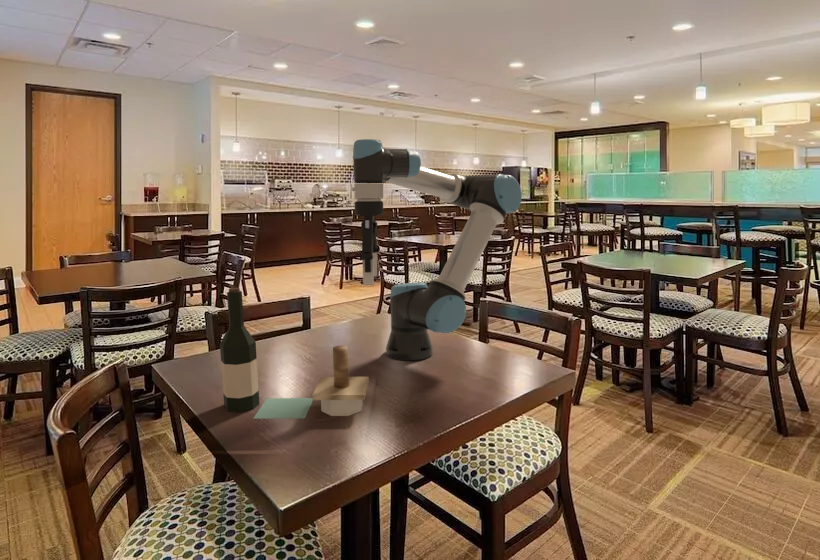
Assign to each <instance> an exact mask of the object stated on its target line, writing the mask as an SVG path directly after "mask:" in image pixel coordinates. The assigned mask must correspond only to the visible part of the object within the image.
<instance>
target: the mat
mask: <svg viewBox="0 0 820 560" xmlns="http://www.w3.org/2000/svg"><path fill="white" fill-rule="evenodd" d="M313 401H314V400H313V399H312V397H279V398H278V397H269V398H266V399H265V400H264V402H263V404H262V405H261V406H260V408H259V410H258V411H257V412H256V414H255V415H254V417H253V420H254V419H255V420H256V419H262V420H264V419H273V420H275V419H305V418H306V417H307V414H308V413H309V411H310V408H311V406H312V404H313Z"/></svg>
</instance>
